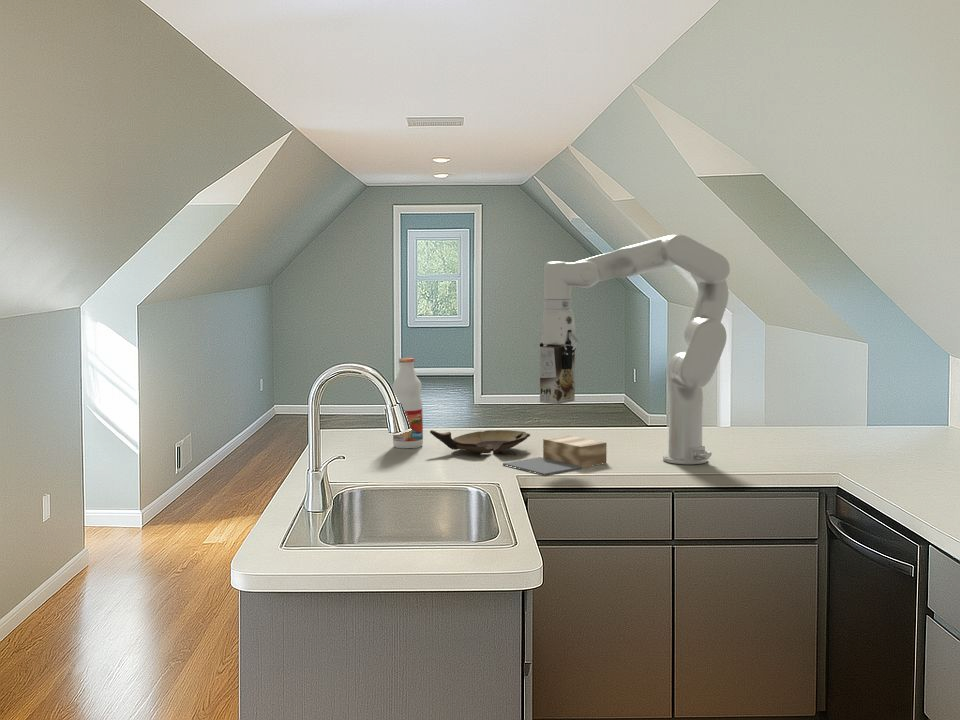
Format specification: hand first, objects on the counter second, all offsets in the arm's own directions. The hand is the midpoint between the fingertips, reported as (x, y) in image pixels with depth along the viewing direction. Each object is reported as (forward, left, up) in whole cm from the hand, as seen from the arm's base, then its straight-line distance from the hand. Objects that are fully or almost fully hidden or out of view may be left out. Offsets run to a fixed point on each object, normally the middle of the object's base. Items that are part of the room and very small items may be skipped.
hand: (557, 367), depth 280 cm
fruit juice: (+51, +18, -28) cm, 61 cm away
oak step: (0, -6, -28) cm, 29 cm away
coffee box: (0, 0, -10) cm, 10 cm away
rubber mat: (0, +6, -28) cm, 29 cm away
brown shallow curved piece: (+30, +5, -28) cm, 41 cm away
